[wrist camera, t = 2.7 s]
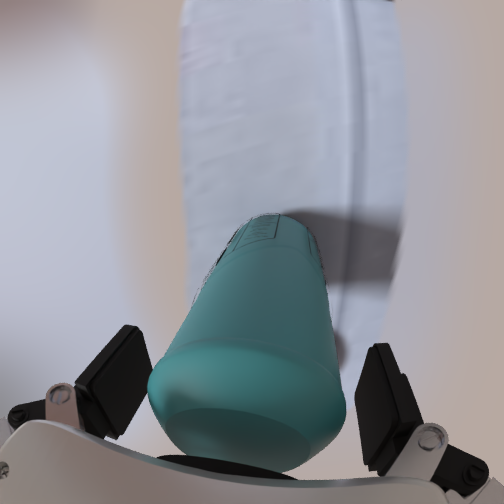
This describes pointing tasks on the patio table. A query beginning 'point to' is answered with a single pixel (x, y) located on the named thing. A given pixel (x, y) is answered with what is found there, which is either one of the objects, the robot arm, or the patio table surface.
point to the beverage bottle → (254, 360)
